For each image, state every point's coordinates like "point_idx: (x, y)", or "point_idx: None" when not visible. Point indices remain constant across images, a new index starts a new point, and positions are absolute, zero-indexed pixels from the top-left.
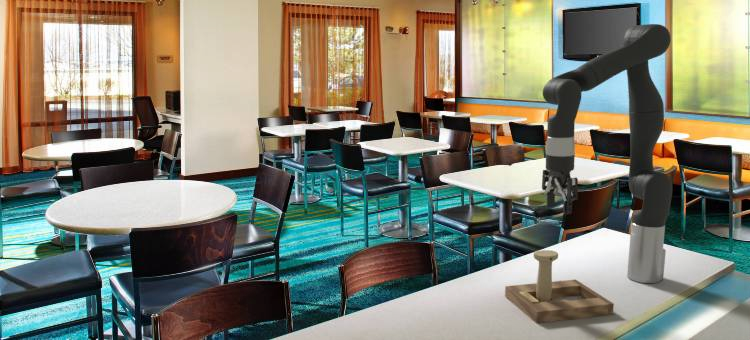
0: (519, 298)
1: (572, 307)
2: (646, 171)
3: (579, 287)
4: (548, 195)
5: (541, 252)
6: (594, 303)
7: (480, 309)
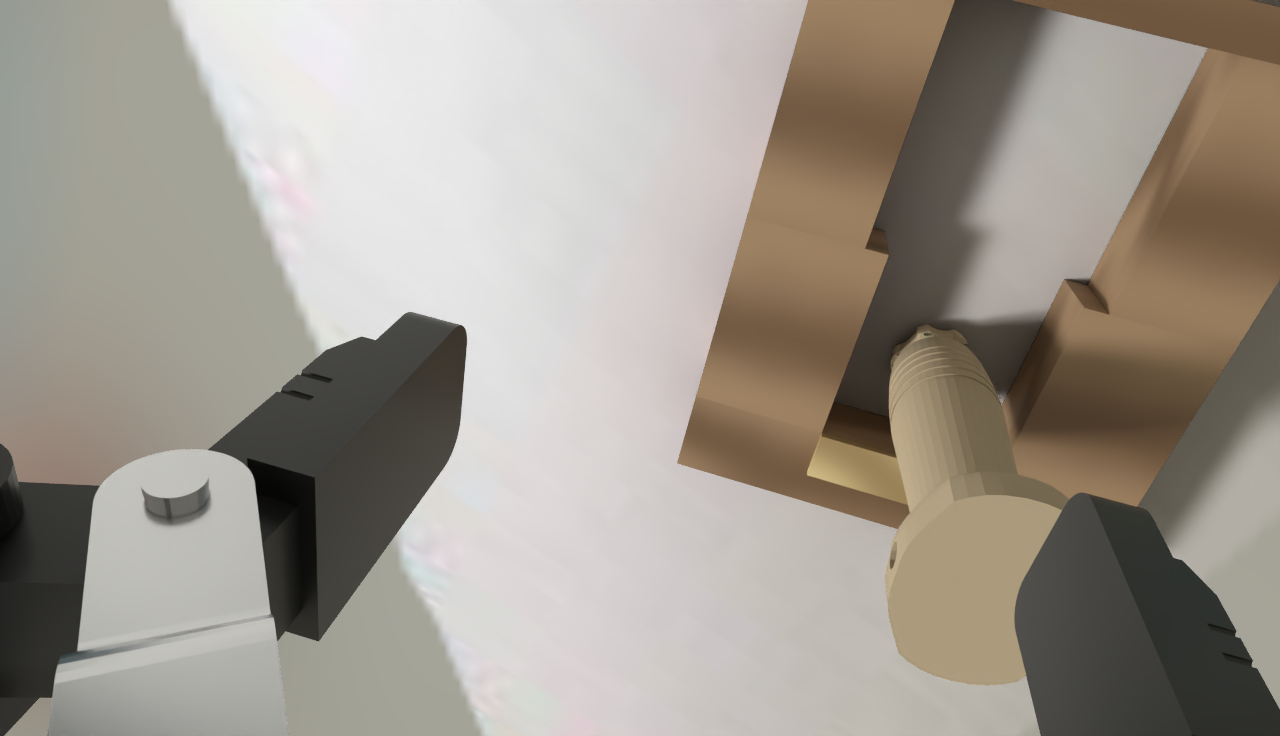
0: (866, 516)
1: (1207, 376)
2: None
3: None
4: (331, 614)
5: (941, 605)
6: None
7: (764, 625)
